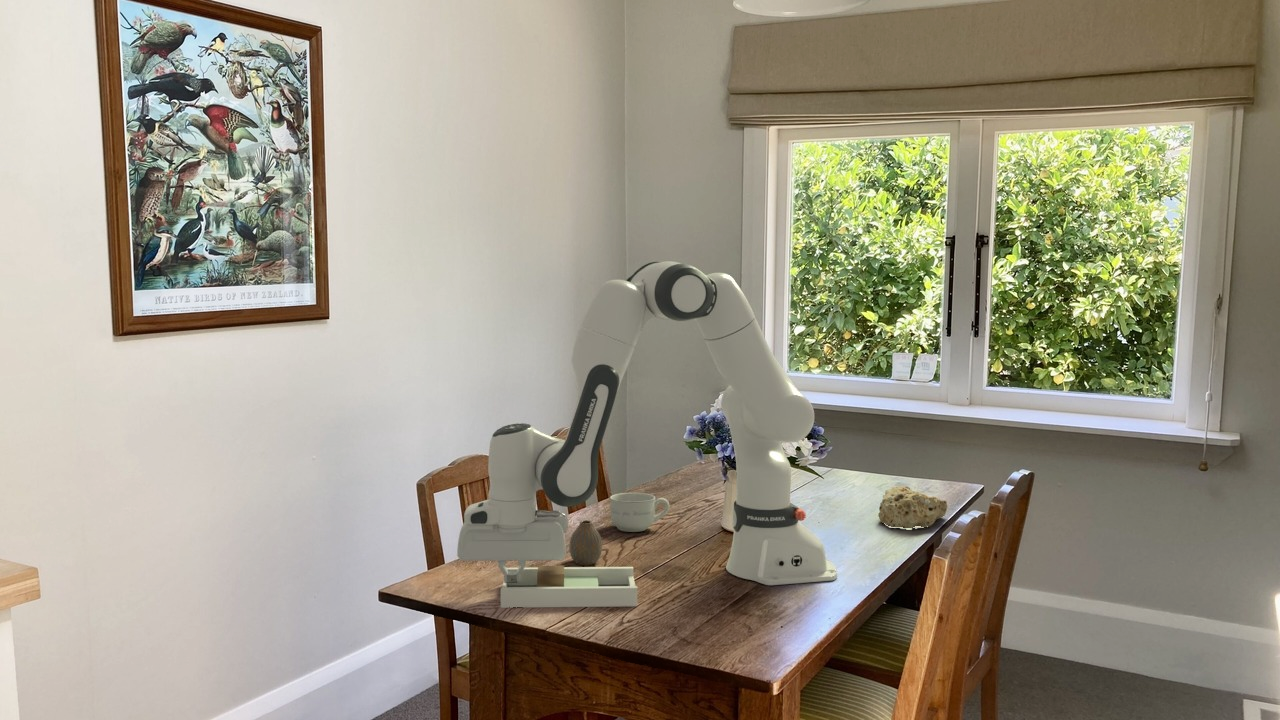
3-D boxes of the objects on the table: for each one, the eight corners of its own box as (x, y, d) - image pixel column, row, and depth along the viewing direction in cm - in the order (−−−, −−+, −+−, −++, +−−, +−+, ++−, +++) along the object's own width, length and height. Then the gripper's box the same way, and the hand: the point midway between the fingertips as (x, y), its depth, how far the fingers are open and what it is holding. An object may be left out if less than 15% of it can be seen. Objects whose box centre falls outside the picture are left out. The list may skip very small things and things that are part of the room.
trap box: (632, 584, 191) (633, 566, 191) (637, 606, 180) (637, 587, 179) (504, 585, 189) (504, 567, 189) (500, 607, 178) (500, 589, 177)
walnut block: (564, 580, 187) (564, 565, 186) (564, 589, 182) (564, 574, 181) (537, 581, 186) (537, 565, 186) (537, 590, 181) (537, 574, 181)
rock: (890, 511, 253) (902, 475, 251) (944, 533, 246) (957, 496, 244) (865, 521, 235) (878, 482, 234) (923, 545, 228) (936, 505, 227)
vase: (572, 569, 200) (573, 527, 199) (566, 558, 206) (566, 518, 205) (605, 566, 202) (606, 525, 201) (598, 556, 208) (598, 516, 207)
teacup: (604, 533, 225) (604, 499, 224) (616, 521, 236) (616, 488, 235) (662, 538, 222) (663, 504, 221) (672, 525, 232) (673, 493, 232)
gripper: (567, 506, 186) (567, 576, 187) (459, 506, 184) (459, 577, 186) (568, 515, 180) (567, 587, 181) (455, 515, 178) (456, 588, 179)
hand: (512, 582), depth 183 cm, fingers closed
